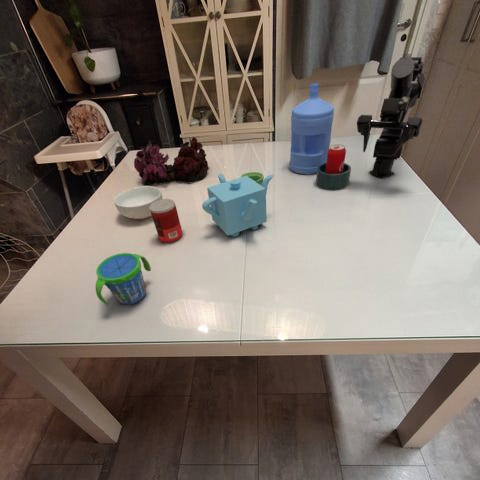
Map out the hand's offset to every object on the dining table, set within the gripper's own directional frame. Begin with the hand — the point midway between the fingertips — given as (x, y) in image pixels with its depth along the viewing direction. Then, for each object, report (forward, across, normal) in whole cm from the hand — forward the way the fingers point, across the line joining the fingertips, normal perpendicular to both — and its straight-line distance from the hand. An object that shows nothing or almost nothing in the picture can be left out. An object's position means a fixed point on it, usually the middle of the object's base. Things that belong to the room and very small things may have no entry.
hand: (378, 152), depth 95 cm
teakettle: (+34, -32, -15) cm, 49 cm away
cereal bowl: (+40, -70, -20) cm, 83 cm away
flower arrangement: (+19, -79, +1) cm, 82 cm away
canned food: (+45, -50, -26) cm, 72 cm away
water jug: (-1, -29, +21) cm, 36 cm away
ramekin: (+16, -42, +3) cm, 45 cm away
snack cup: (+64, -41, -45) cm, 89 cm away
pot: (+6, -15, +13) cm, 21 cm away
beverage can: (+6, -15, +13) cm, 20 cm away
